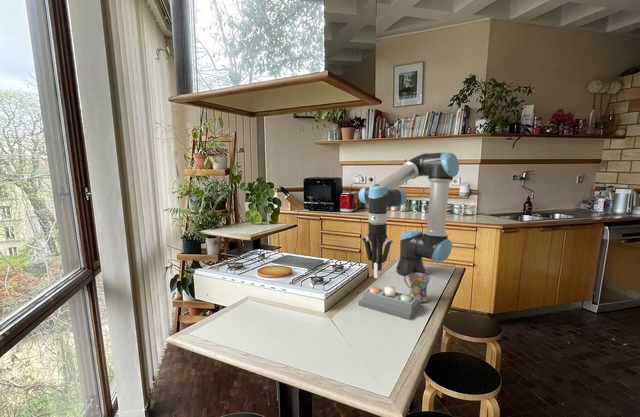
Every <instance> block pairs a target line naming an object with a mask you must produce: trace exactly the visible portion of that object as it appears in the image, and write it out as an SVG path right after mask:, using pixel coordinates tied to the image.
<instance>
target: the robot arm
mask: <svg viewBox="0 0 640 417" xmlns="http://www.w3.org/2000/svg"><path fill="white" fill-rule="evenodd" d="M459 172H460V163H459V159H458V157H457V156H456V154H454V153H452V152H443V151H442V152H434V153H433V152H429V153H422V154H419V155H417V156H415V157H412V158H411V159H409V160H407V161H406V162H404V163H403V165H402V166H401V167H400V168H399V169H397V170H395V171H394V172H392V173H391V174H389V175H387V176H386V177H384V178H383V179H380V181H378V182H376V183H375V184H374V185H371V186H369V187H368V186H367V187H362V188H361V189H360V190H359V192H358V200H359V201H360V202H361V203H363V204H367V205H368V225H367V226H368V229H367V230H368V231H367V232H368V234H367V236H365V237H363V238H362V241H363V243H364V246H365V251H366V255H367V260H368V261H370V262H371V269H372V270H373V278H374V279H378V278H380V277H381V271H382V270H383V263H386V262H387V260H388V256H389V251H390V248H391V245H392V244H393V240H392V239H390V238H388V235H387V229H388V224H387V222H388V208H394V207H397V208H398V207H400V206H403V205H405V204H406V202H407V201H408V200H407V199H408V196H407V193H406V192H405V190H404V189H402V188H400V187H401V186H403V185H404V184H405V183H407V182H409V181H410V180H414V179H416V178H418V177H427V180H428V181H429V183H430V190H429V201H428V211H427V212H428V214H427V224H426V230H424V231H422V230H406V231H403V232H400V233H401V234H400V239H399V245H400V246H399V259H398V263H397V265H396V273H397V274H398V275H401V276H404V277H405V276H408V275H409V274H411V273H423V274H426V269H425V265H424V261H423V258H425V259H428V260H432V261H434V262H444V261H446V260H447V259H448V258H449V256H450V255H451V253H452V249H453V244H452V241H451V240H450V239H449V234H448V233H447V232H446V223H447V212H448V202H449V191H450V190H449V189H450V184H451V183H452V182H453V180H454V177H457V175H458V174H459ZM384 244H385V245H384ZM383 247H384V249H383Z"/></svg>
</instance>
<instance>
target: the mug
mask: <svg viewBox="0 0 640 417" xmlns="http://www.w3.org/2000/svg"><path fill="white" fill-rule="evenodd" d="M406 277H407V278H408V281H409V283H408V282H407V280H406ZM403 280H404V283H405V284H406V286H407V287H408V288H409V294H408V295H410V296H414V297H418V301H420V302H421V303H426V302H427V301H428V300H429V296H428V293H427V290H428V285H429V282H430V280H431V276H430V275H429V274H427V273H425V274H423V273H411V274H409V275H408V276H404V277H403ZM409 284H410V285H409Z"/></svg>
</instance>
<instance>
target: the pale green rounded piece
mask: <svg viewBox="0 0 640 417" xmlns="http://www.w3.org/2000/svg"><path fill="white" fill-rule="evenodd" d="M403 294H404V295H401V300H403V301H407V302H411V301H412V296H410V295H409V294H405V293H403Z"/></svg>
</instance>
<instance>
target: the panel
mask: <svg viewBox="0 0 640 417" xmlns="http://www.w3.org/2000/svg"><path fill="white" fill-rule="evenodd" d="M371 287H374V286H373V285H372V286H371V285H370V287H368V288H367V289H365V290H364V291H363V293H362V294H363V295H362V296H363V297H362V298H360V299H359V300H358V306H360V307H363V308H365V309H366V308H367V309H370V310H373V311H378V312H380V313H384V314H387V315H391V316H395V317H398V318H402V319H405V320H408V321H410V320H411V319H412V318H413V317H414V315H416V313H417V312H418V311H419V309H420V308H421V307H422V302H420V301H418V297H414V296H412V301H411V302H407V301H403V300H401V295H404V294H405V293H401V292H397V291H395V297H394V298H391V297H387V296H385V288H381V287H378V288H379V289H380V293H378V294H375V293H371V292H369V290H370V288H371Z"/></svg>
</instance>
